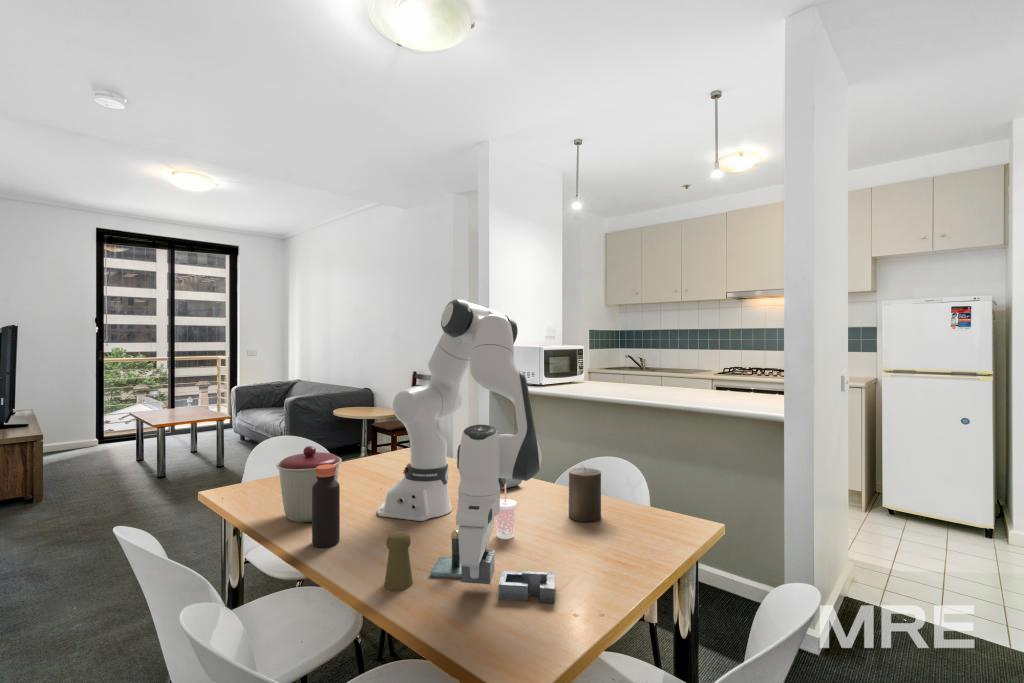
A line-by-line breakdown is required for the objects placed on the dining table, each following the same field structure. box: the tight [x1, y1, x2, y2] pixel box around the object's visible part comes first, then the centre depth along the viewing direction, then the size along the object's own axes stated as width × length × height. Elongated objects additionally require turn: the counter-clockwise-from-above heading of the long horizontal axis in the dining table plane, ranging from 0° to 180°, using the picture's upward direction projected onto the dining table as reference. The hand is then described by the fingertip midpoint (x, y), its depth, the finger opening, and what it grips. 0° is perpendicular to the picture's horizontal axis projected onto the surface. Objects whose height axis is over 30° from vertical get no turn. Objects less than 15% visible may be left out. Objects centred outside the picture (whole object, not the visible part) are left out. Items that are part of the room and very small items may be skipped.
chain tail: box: [498, 570, 556, 605], centre depth 105 cm, size 12×7×4 cm, turn 84°
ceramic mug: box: [498, 478, 523, 490], centre depth 182 cm, size 11×8×8 cm
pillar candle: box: [568, 467, 602, 523], centre depth 150 cm, size 10×10×15 cm
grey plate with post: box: [429, 529, 462, 579], centre depth 116 cm, size 10×8×9 cm
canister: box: [276, 445, 342, 523], centre depth 150 cm, size 18×18×21 cm
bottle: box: [311, 464, 341, 549], centre depth 131 cm, size 7×7×20 cm
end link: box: [460, 549, 496, 585], centre depth 106 cm, size 6×6×4 cm
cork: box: [384, 531, 413, 592], centre depth 109 cm, size 6×6×11 cm
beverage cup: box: [495, 484, 518, 540], centre depth 136 cm, size 6×6×14 cm
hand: (478, 568), depth 106 cm, fingers closed on end link, 6 cm apart
